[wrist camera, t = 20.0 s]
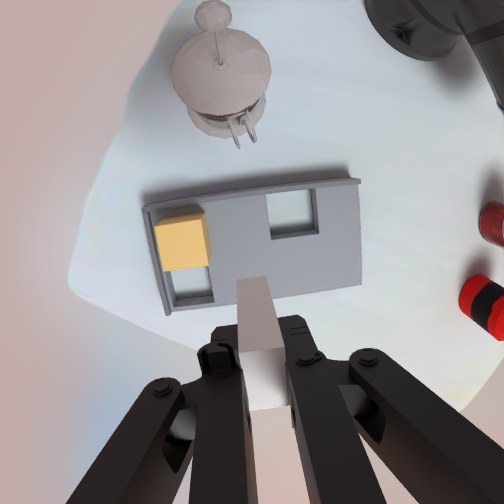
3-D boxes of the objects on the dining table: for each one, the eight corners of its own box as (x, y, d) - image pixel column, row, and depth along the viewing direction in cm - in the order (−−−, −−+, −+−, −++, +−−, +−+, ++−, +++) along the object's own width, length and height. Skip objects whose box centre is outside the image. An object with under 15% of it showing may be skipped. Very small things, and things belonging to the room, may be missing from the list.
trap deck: (149, 203, 39) (141, 207, 35) (350, 177, 39) (360, 178, 36) (170, 304, 43) (165, 315, 39) (355, 277, 43) (364, 287, 40)
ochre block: (164, 218, 37) (154, 226, 32) (205, 211, 37) (200, 219, 32) (172, 257, 38) (163, 271, 33) (211, 252, 38) (208, 265, 33)
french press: (249, 54, 34) (270, -71, 10) (282, 136, 37) (358, 99, 13) (175, 80, 34) (98, -16, 10) (207, 163, 38) (159, 167, 14)
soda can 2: (460, 278, 44) (505, 308, 33) (489, 270, 44) (533, 295, 33) (455, 317, 46) (495, 351, 35) (484, 307, 47) (523, 336, 35)
